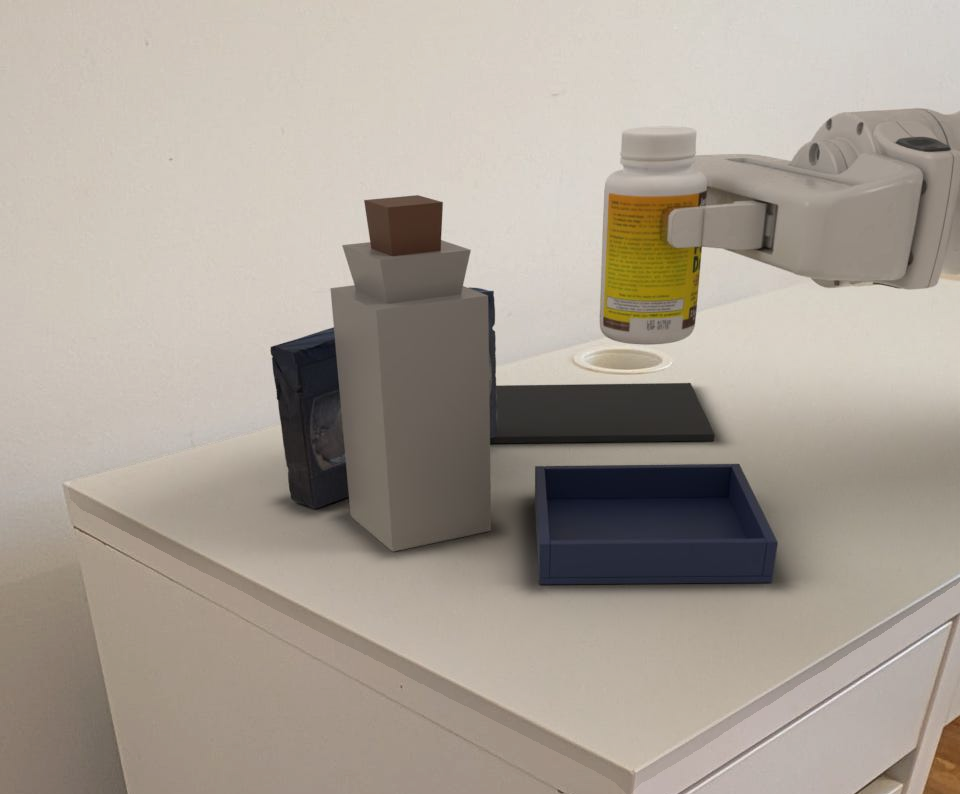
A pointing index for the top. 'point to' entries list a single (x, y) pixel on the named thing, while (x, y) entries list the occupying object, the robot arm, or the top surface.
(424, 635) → the top surface
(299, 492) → the vhs cassette tape
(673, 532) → the box
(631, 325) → the supplement bottle
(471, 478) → the perfume bottle
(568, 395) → the mat
